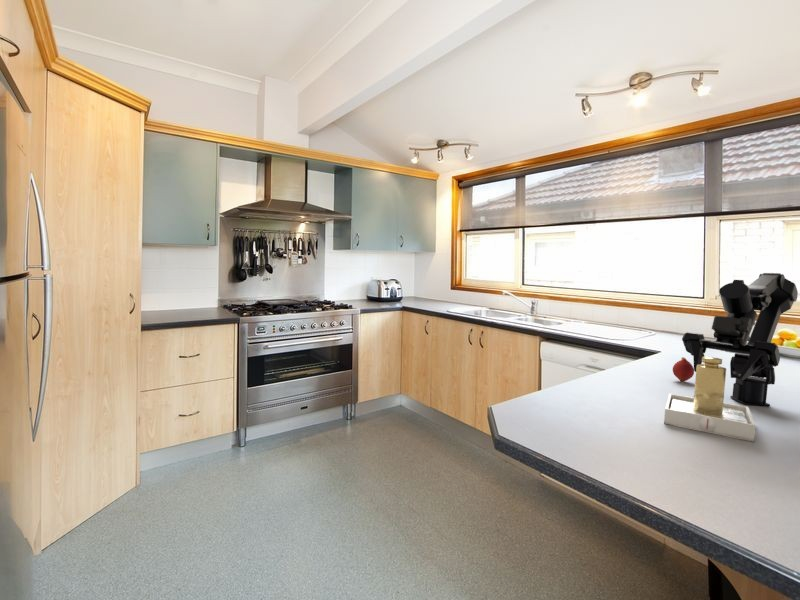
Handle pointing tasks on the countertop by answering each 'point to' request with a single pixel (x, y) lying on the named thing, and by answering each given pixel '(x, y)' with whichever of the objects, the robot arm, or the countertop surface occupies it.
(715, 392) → the weight
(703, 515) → the countertop surface
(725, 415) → the silver square plate
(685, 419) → the scale
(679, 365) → the onion
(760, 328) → the robot arm
